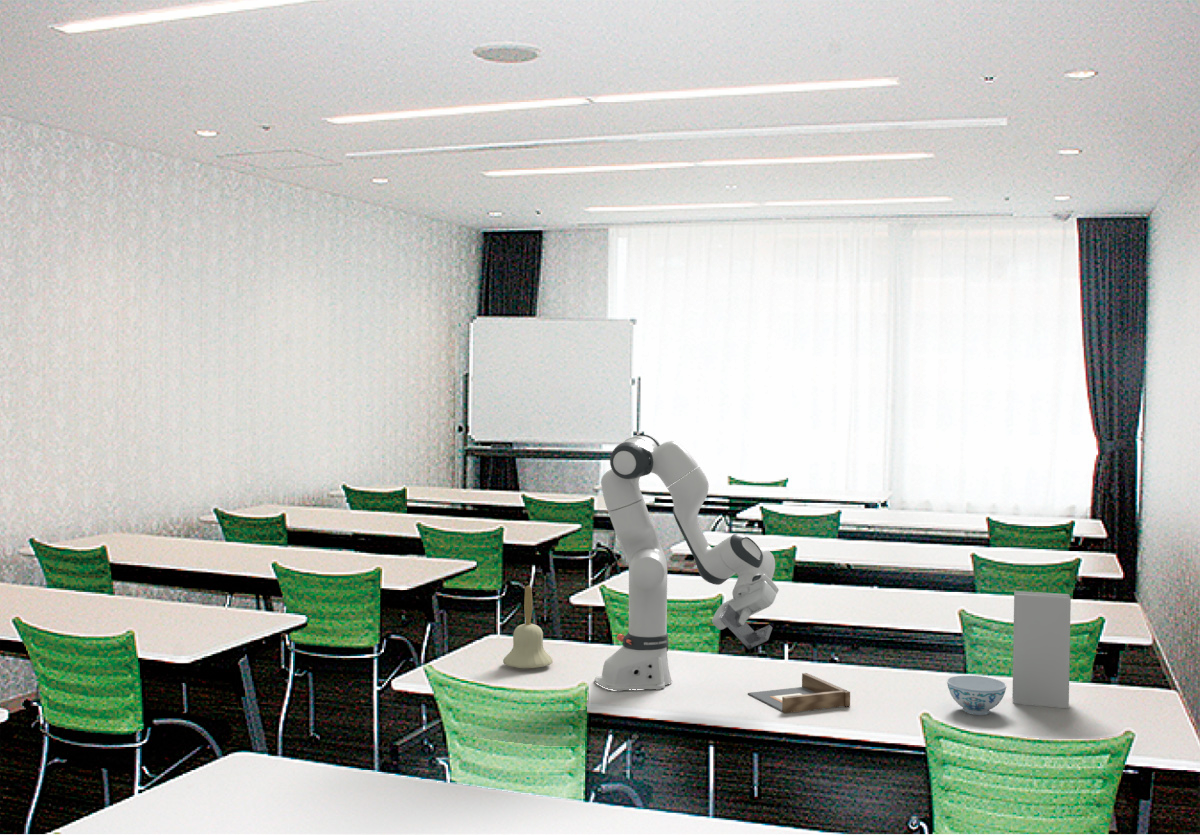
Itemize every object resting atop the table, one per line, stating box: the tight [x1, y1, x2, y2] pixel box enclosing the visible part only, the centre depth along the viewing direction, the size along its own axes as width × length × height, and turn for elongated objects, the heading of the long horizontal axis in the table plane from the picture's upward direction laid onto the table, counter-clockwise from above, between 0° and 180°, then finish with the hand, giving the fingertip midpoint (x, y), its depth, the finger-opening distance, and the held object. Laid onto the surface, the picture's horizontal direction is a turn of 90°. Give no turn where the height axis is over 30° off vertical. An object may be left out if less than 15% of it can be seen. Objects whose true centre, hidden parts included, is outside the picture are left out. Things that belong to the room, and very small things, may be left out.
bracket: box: [720, 604, 773, 650], centre depth 297 cm, size 7×5×12 cm
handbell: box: [502, 585, 554, 669], centre depth 341 cm, size 15×15×25 cm
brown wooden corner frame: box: [781, 672, 851, 714], centre depth 307 cm, size 20×22×4 cm
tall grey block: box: [1011, 590, 1072, 709], centre depth 305 cm, size 14×6×30 cm, turn 71°
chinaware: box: [946, 675, 1007, 716], centre depth 297 cm, size 15×15×8 cm
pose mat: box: [747, 686, 815, 712], centre depth 307 cm, size 18×18×1 cm
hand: (735, 626), depth 298 cm, fingers closed on bracket
